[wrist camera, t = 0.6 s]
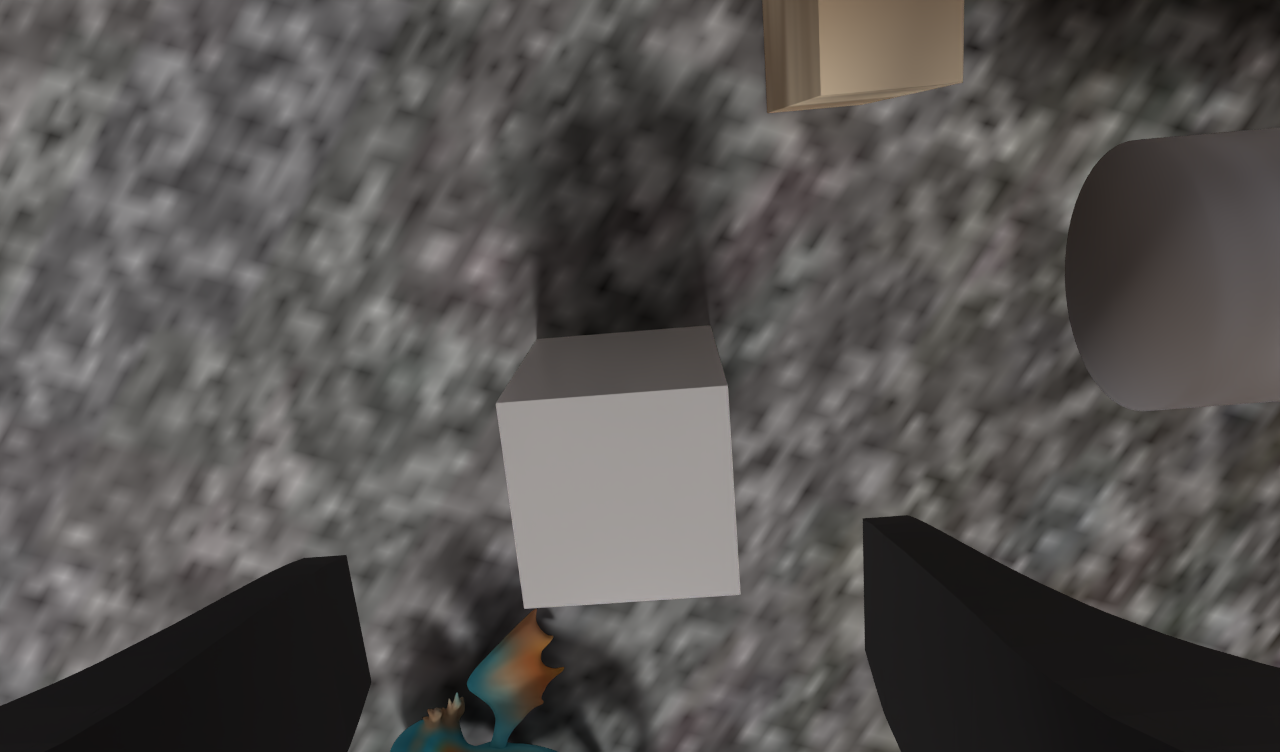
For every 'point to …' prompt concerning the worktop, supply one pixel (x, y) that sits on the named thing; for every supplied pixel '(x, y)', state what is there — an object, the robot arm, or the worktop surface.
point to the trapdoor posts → (859, 50)
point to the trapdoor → (1180, 271)
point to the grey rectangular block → (621, 469)
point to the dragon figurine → (491, 696)
